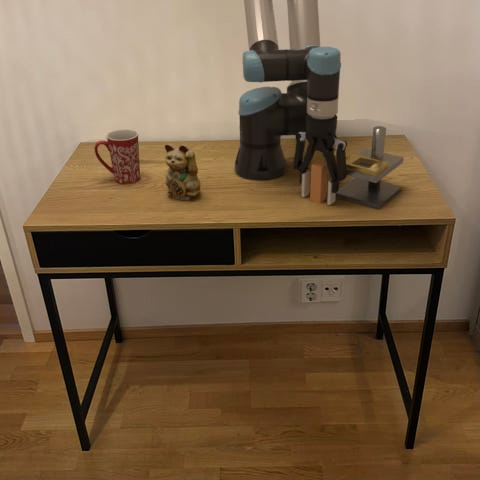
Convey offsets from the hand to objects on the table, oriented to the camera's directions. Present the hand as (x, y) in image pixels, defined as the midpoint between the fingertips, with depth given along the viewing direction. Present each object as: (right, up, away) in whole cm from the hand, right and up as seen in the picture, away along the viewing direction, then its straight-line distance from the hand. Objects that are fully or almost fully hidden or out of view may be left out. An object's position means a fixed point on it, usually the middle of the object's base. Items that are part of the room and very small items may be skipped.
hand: (318, 198), depth 155 cm
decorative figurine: (-35, +1, +5) cm, 36 cm away
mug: (-55, +7, +15) cm, 57 cm away
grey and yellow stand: (+12, +2, +4) cm, 13 cm away
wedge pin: (0, 0, 0) cm, 0 cm away
